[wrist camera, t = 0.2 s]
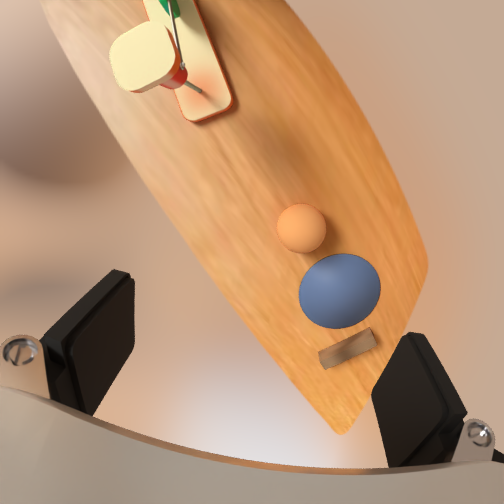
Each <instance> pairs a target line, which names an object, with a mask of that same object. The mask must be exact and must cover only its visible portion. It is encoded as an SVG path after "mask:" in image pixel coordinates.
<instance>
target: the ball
mask: <svg viewBox="0 0 504 504" xmlns="http://www.w3.org/2000/svg"><path fill="white" fill-rule="evenodd" d="M277 234H278V237H279V240H280V241H281V243H282V244H283V245H284V246H285V247H286V248H287V249H288V250H290V251H292V252H296V253H308V252H311V251H313V250H315V249H316V248H318V247H319V246H320V245H321V243H322V242H323V240H324V238H325V235H326V223H325V219H324V217H323V215H322V214H321V213H320V212H319V211H318V210H317V209H316V208H315V207H313V206H311V205H308V204H295V205H292V206H290V207H288V208H287V209H285V210H284V211H283V213H282V214H281V215H280V217H279V219H278V223H277Z"/></svg>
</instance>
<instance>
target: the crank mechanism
mask: <svg viewBox="0 0 504 504" xmlns="http://www.w3.org/2000/svg"><path fill="white" fill-rule="evenodd" d="M142 2H143V5H144V7H145V10H146V13H147V16H148V19H149V21H147V22H145V23H142V24H140V25H138V26H136V27H134V28H133V29H131V30H129V31H127V32H125V33H124V34H122V35H121V36H119V37H118V38H117V39H116V40H115V42H114V43H113V44H112V47H111V49H110V53H109V57H110V62H111V66H112V69H113V72H114V76H115V79H116V81H117V83H118V85H119V86H120V87H121V88H122V89H124V90H127V91H131V92H134V93H142V92H145V91H147V90H149V89H151V88H153V87H155V86H157V85H161V86H163V87H166V88H168V89H173V90H174V93H175V96H176V98H177V101H178V104H179V107H180V109H181V112H182V115H183V116H184V118H185V119H186V120H188V121H192V122H198V121H202V120H204V119H206V118H209V117H212V116H214V115H217V114H219V113H222V112H225V111H227V110H228V109H229V108H230V107H231V106H232V104H233V100H234V99H233V95H232V92H231V90H230V87H229V85H228V82H227V79H226V77H225V74H224V72H223V69H222V66H221V64H220V61H219V59H218V56H217V54H216V51H215V49H214V46H213V44H212V41H211V39H210V36H209V34H208V31H207V29H206V26H205V24H204V21H203V19H202V17H201V14H200V12H199V9H198V7H197V5H196V2H195V0H142Z"/></svg>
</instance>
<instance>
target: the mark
mask: <svg viewBox="0 0 504 504" xmlns="http://www.w3.org/2000/svg"><path fill="white" fill-rule="evenodd" d="M379 295H380V281H379V277H378V275H377V272H376V271H375V269H374V268H373V267H372V265H371V264H370V263H369V262H367V261H366V260H364V259H363V258H361V257H358V256H355V255H351V254H336V255H332V256H329V257H326V258H324V259H322V260H320V261H318V262H317V263H316V264H314V265H313V266H312V267H311V268H310V269H309V270H308V271H307V273H306V274H305V276H304V278H303V280H302V282H301V285H300V289H299V301H300V305H301V308H302V310H303V312H304V313H305V315H306V316H307V317H308V318H309V319H310V320H311V321H312V322H314V323H315V324H317V325H319V326H322V327H326V328H332V329H340V328H346V327H349V326H352V325H355V324H357V323H358V322H360V321H362V320H363V319H364V318H366V317H367V316H368V315H369V314H370V313H371V311H372V310H373V309H374V307H375V305H376V303H377V301H378V298H379Z"/></svg>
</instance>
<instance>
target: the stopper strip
mask: <svg viewBox="0 0 504 504" xmlns="http://www.w3.org/2000/svg"><path fill="white" fill-rule="evenodd" d="M375 346H377V343H376V341H375V338H374V336H373V334H372V332H371V329H370V327H369V328H367V329H365V330H363V331H361V332H359V333H357V334H355V335H353V336H351V337H349V338H347V339H345V340H343V341H341V342H339V343H337V344H335V345H332V346H330V347H328V348H326V349H324V350H322V351H319V352H318V353H319V361H320V363H321V365H322V366H323V368H324V369H325V370H326V369H328V368H330V367H333V366H335V365H337V364H339V363H342V362H344V361H346V360H348V359H350V358H352V357H355V356H357V355H359V354H361V353H363V352H365V351H367V350H369V349H371V348H373V347H375Z"/></svg>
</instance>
